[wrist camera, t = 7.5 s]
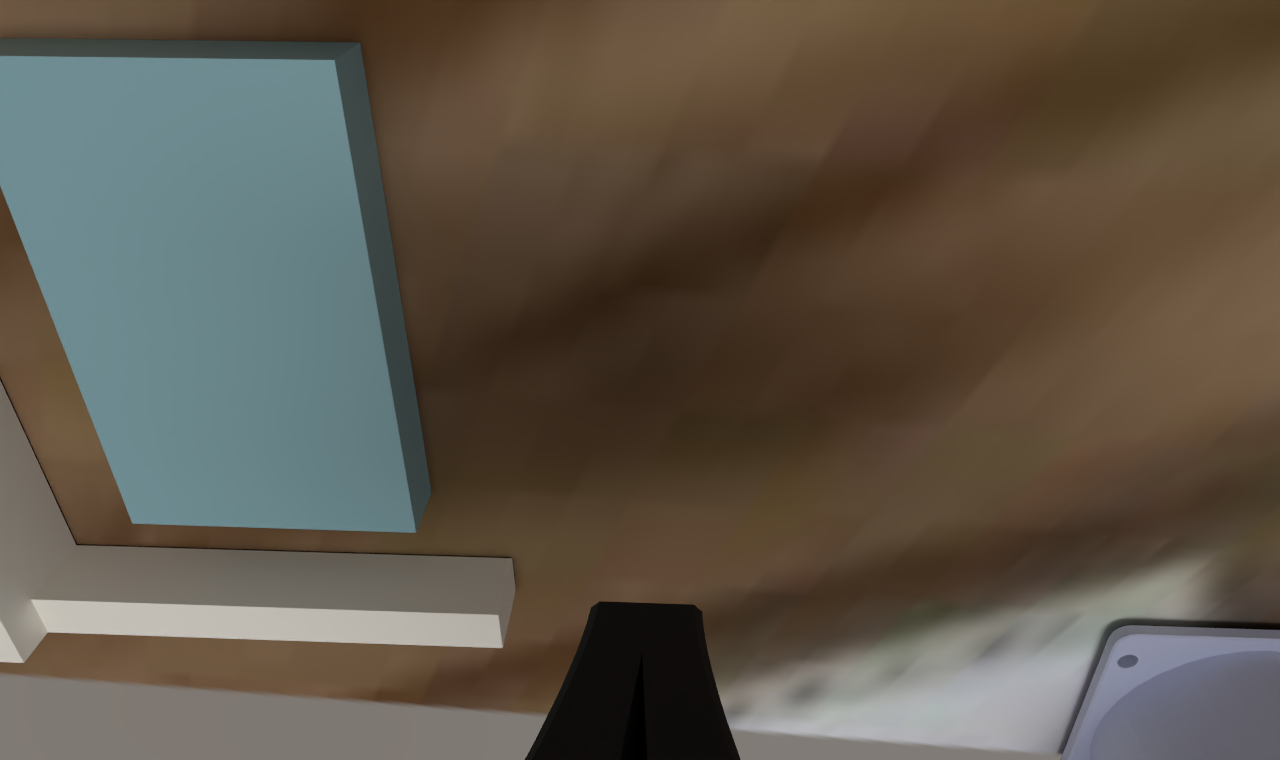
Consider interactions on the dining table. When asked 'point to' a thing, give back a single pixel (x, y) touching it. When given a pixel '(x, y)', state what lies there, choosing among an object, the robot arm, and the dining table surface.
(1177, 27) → the dining table surface
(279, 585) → the rack
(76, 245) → the rectangular block
